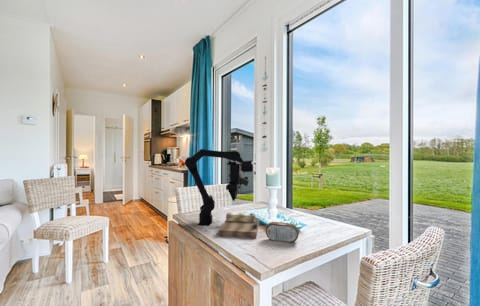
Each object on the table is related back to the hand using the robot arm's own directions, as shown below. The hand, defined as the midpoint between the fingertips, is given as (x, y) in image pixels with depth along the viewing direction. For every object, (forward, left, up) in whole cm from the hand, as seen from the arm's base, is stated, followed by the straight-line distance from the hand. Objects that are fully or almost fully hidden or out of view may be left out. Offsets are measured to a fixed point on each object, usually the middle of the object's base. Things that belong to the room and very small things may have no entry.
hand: (234, 199), depth 136 cm
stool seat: (+5, -12, -13) cm, 19 cm away
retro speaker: (+26, -24, -13) cm, 38 cm away
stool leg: (+5, -7, -10) cm, 13 cm away
